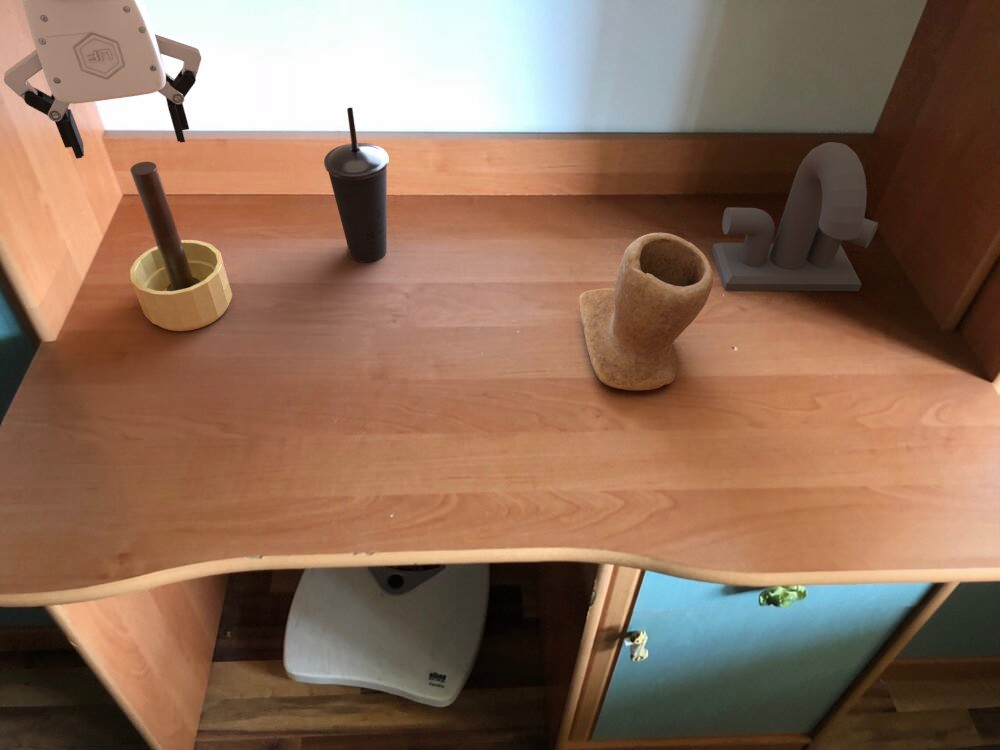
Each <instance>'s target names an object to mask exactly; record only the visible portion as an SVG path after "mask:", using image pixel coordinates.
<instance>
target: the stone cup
mask: <svg viewBox="0 0 1000 750" xmlns="http://www.w3.org/2000/svg"><path fill="white" fill-rule="evenodd" d="M713 283H714V272H713V268H712V265H711V263H710V261H709V260H708V258H707V257H706V255H705V254H704V253H703V252H702V251H701V250H700V249H699V248H698V247H697V246H696V245H694V244H693V243H692V242H690V241H689V240H688V241H687V240H685V238H682V237H680V236H678V235H675V234H672V233H668V232H667V233H666V232H650V233H647V234H644V235H641V236H639V237H638V238H636V239H635V240H633V241H632V242H631V243H630V244H629V245H628V246H627V248H626V249H625V251H624V253H623V255H622V258H621V262H620V264H619V267H618V270H617V275H616V278H615V281H614V287H613V288H610V287H609V288H606V287H605V288H597V289H596V288H595V289H589V290H586V291H585V292H582V293H581V294H580V295H579V298H578V300H579V309H580V318H581V323H582V327H583V332H584V333H583V335H584V340H585V343H586V349H587V352H588V355H589V356H588V357H589V360H590V363H591V366H592V369H593V371H594V373H595V375H596V376H597V378H598V380H599V381H601V383H602V384H604V385H606V386H608V387H611V388H614V389H619V390H625V391H637V392H639V391H650V390H651V391H652V390H656V389H659V388H661V387H663V386H664V385H665V386H666V385H669V384H671V383H673V381H674V380H675V377H676V372H677V366H676V364H677V363H676V361H677V360H676V351H675V346H674V342H675V341H676V340H677V339H678V337H680V335H682V333H683V332H685V330H686V329H687V328H688V327H689V326H690V325H691V324H692V323H693V321H694V320H695V319H696V318H697V317H698V315H699V314H700V313H701V311H702V310H703V308H704V307H705V306H706V303H707V302H708V299H709V296H710V294H711V291H712V287H713Z"/></svg>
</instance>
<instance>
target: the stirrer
mask: <svg viewBox="0 0 1000 750" xmlns="http://www.w3.org/2000/svg"><path fill="white" fill-rule="evenodd" d="M130 174H131V177H132V179H133V182H134V185H135V188H136V190H137V194H138V196H139V199H140V203H141V205H142V207H143V211H144V213H145V217H146V218H147V221H148V224H149V227H150V230H151V232H152V235H153V238H154V239H153V240H154V241H155V244H156V246H157V247H158V250H159V253H160V255H161V258H162V261H163V264H164V267H165V269H166V272H167V275H168V278H169V281H170V284H169V285H168V287H167V291H176V290H181V289H185V288H189V287H192V286H194V285H196V284H198V283H200V280H198V279H197V278H194V277H193V276H192V273H191V270H190V267H189V264H188V261H187V258H186V255H185V252H184V248H183V245H182V242H181V240H182V239H181V236H180V233H179V231H178V228H177V224H176V221H175V218H174V215H173V212H172V210H171V209H172V208H171V205H170V203H169V200H168V196H167V194H166V190H165V188H164V184H163V182H162V178H161V176H160V171H159V169H158V166H157V164H156V163H154V162H153V161H141V162H137V163H135V164H133V165H132V166H131V167H130Z"/></svg>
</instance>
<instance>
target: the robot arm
mask: <svg viewBox="0 0 1000 750" xmlns="http://www.w3.org/2000/svg"><path fill="white" fill-rule="evenodd" d="M22 2H23V7H24V11H25V16H26V21H27V25H28V27H29V31H30V34H31V37H32V41H33V44H34V48H35V50H34V51H32V52H31V53H29V54H28V55H26V56H25V57H24V58H22V59H21V60H19V61H18V62H16V63H15V64H14V65H12V66H11V67H10V68H8V69H7V70H6V71H5V72H4V76H3V82H4V84H5V85H6V86H8V87H9V88H10V90H12V91H13V92H14V93H15V94H16V95H17V96H18V97H20V98H22V100H23V101H24V103H25V104H26V105H27V106H29V107H31V108H33V109H35V110H36V111H38V112H40V113H42V114H44V115H46V116H47V117H48V119H49V120H50V121H52V122H54V123H55V125H56V128H57V130H58V133H59V135H60V138H61V141H62V143H63V146H64V148H65V149H68V148H71V149H72V151H73V154H74V157H75V159H77V160H78V159H82V158H83V157H84V156H85V150H84V141H83V139H82V135H81V134H80V131H79V128H78V126H77V122H76V120H75V117H74V114H73V112H72V109H70V108H69V106H70V104H85V103H93V102H94V103H95V102H100V101H107V100H108V101H109V100H116V99H117V100H118V99H122V98H130V97H131V98H132V97H138V96H143V95H150V94H154V93H156V92H158V93H159V94H161V95H162V96H163V97H164V98H165V100H166V103H167V104H166V105H167V109H168V113H169V116H170V119H171V123H172V126H173V130H174V133H175V134H174V135H175V137H176V141H177V142H179V143H186V138H185V135H184V131H189V130H190V127H189V123H188V119H187V115H186V111H185V108H184V104H183V103H184V102H185V97H186V96H187V94H188V93H189V92H190V90H191V89H192V87H193V86H194V85H195V83H196V81H197V80H196V78H197V74H198V72H199V69H200V65H201V61H202V55H201V52H200V50H199V48H197V47H194V46H191V45H188V44H185V43H182V42H179V41H177V40H173V39H171V38H168V37H164V36H162V35H158V34H155V31H154V27H153V24H152V22H151V20H150V16H149V13H148V11H147V8H146V6H145V2H144V0H22ZM162 55H164V56H167V57H170V58H173V59H176V60H179V61H181V62H182V63H183V64H182V68H181V69H180V70H179V72H178V73H177V75H176V76H175V78H174V77H172V76H170V75H169V74H168V73H166V70H165V66H164V65H165V64H164V61H163V57H162ZM40 71H43V74H44V77H45V80H46V82H47V85H48V88H49V90H50V92H51V94H50V95H49V94H47V93H46V92H44V91H41V90H40V89H39V88H36V87H34V86H33V85H32V84H31V83H30V81H28V80H29V79H30V78H33V76H34V75H36V74H37V73H39V72H40Z"/></svg>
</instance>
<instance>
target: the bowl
mask: <svg viewBox="0 0 1000 750" xmlns="http://www.w3.org/2000/svg"><path fill="white" fill-rule="evenodd" d="M181 242H182V245H183V248H184V252H185V255H186V258H187V261H188V264H189V267H190V270H191V273H192V276H193V277H194V278H197V279H198V280H200V283H198V284H196V285H194V286H192V287H189V288H185V289H181V290H176V291H167V287H168V285H169V284H170V281H169V278H168V275H167V272H166V269H165V267H164V264H163V261H162V258H161V255H160V253H159V250H158V247H157V245H156V246H154V247H152V248H149V249H147V250H146V251H145V252H143V253H142V254H140V256H139V257H137V258H136V259H135V260H134V262H133V264H132V265H131V267H130V269H129V277H130V278H129V279H130V282H131V285H132V287H133V290H134V292H135V295H136V297H137V300H138V303H139V305H140V308H141V310H142V312H143V315H144V316H145V318H147V319H148V321H149V322H150V323H152V324H153V325H156V326H158V327H159V328H162V329H164V330H168V331H172V332H173V331H174V332H187V331H192V330H193V331H194V330H197V329H201V328H204V327H207V326H208V325H211V324H212V323H214V322H216V321H217V320H219V319H220V318H221V317H222V316H223V315H224V313H225V312H226V311H227V309H228V308H229V306H230V303H231V301H232V298H233V292H232V287H231V284H230V281H229V277H228V274H227V271H226V267H225V264H224V260H223V256H222V254H221V251H220V250H218V249H217V248H216V247H215V246H214V245H213V244H211V243H208V242H204V241H202V240H198V239H197V240H196V239H181Z"/></svg>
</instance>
